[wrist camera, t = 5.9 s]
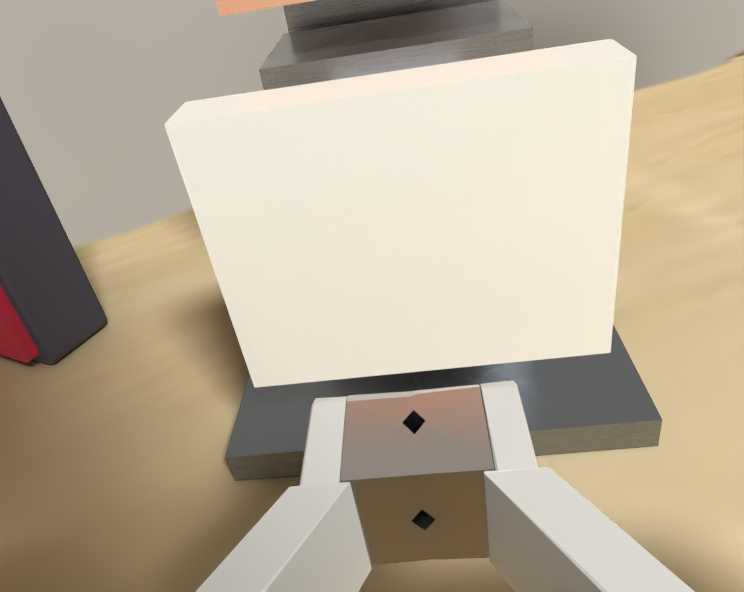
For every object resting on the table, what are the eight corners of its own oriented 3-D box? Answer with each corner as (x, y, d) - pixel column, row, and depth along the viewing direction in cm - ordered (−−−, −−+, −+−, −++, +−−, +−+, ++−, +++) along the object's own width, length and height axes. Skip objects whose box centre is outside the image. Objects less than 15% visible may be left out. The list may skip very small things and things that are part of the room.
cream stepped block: (254, 387, 16) (163, 124, 12) (292, 246, 22) (240, 43, 18) (610, 352, 15) (636, 56, 11) (544, 215, 21) (547, -5, 17)
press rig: (234, 480, 18) (-161, -476, 8) (302, 218, 32) (194, -242, 22) (658, 445, 17) (850, -743, 6) (534, 189, 31) (534, -312, 21)
